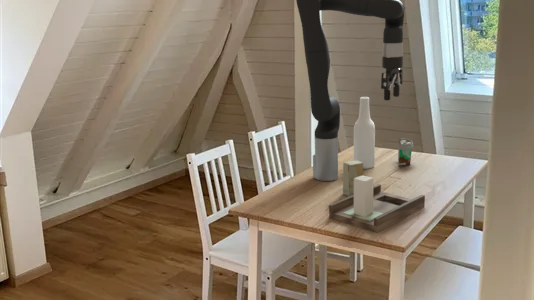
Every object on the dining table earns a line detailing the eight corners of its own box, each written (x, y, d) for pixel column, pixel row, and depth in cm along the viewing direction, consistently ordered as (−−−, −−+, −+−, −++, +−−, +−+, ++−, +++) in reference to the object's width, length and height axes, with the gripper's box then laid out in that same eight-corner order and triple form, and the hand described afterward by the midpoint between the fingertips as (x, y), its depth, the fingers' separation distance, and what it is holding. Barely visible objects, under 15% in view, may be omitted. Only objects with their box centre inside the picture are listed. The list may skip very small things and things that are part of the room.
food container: (413, 168, 238) (414, 145, 235) (398, 167, 239) (399, 144, 237) (412, 160, 250) (413, 138, 247) (398, 159, 251) (398, 137, 248)
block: (353, 213, 185) (353, 178, 181) (361, 209, 188) (362, 175, 184) (364, 216, 181) (365, 181, 178) (373, 212, 184) (373, 177, 181)
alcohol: (350, 167, 242) (350, 98, 234) (358, 162, 249) (358, 95, 241) (369, 170, 237) (370, 99, 229) (377, 164, 244) (378, 96, 237)
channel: (329, 217, 188) (329, 205, 186) (377, 195, 206) (378, 184, 205) (377, 232, 174) (377, 219, 173) (424, 207, 193) (424, 195, 192)
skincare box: (349, 197, 206) (349, 165, 203) (342, 193, 210) (342, 162, 207) (363, 193, 209) (363, 162, 206) (356, 190, 213) (356, 159, 210)
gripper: (390, 53, 217) (390, 94, 221) (375, 56, 206) (374, 100, 210) (409, 53, 213) (408, 96, 217) (394, 57, 201) (393, 102, 206)
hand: (391, 98), depth 213 cm, fingers open, 8 cm apart
